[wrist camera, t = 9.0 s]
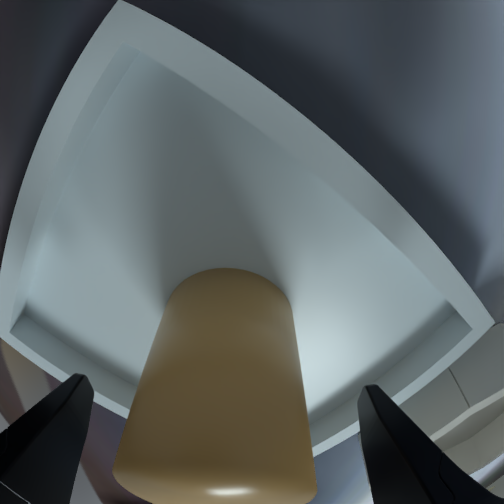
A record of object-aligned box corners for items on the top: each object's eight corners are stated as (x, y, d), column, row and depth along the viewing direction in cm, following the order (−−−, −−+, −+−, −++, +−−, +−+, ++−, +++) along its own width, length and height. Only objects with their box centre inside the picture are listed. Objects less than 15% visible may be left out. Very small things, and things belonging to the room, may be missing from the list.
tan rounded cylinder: (319, 313, 12) (359, 483, 6) (242, 381, 14) (237, 524, 7) (211, 241, 11) (162, 428, 4) (145, 329, 12) (91, 480, 6)
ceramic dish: (549, 365, 17) (569, 394, 13) (420, 467, 22) (430, 498, 19) (514, 278, 12) (556, 322, 9) (313, 442, 18) (320, 493, 14)
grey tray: (471, 294, 13) (495, 322, 11) (276, 444, 18) (278, 473, 16) (145, 16, 8) (119, -1, 6) (15, 305, 13) (-7, 331, 11)
